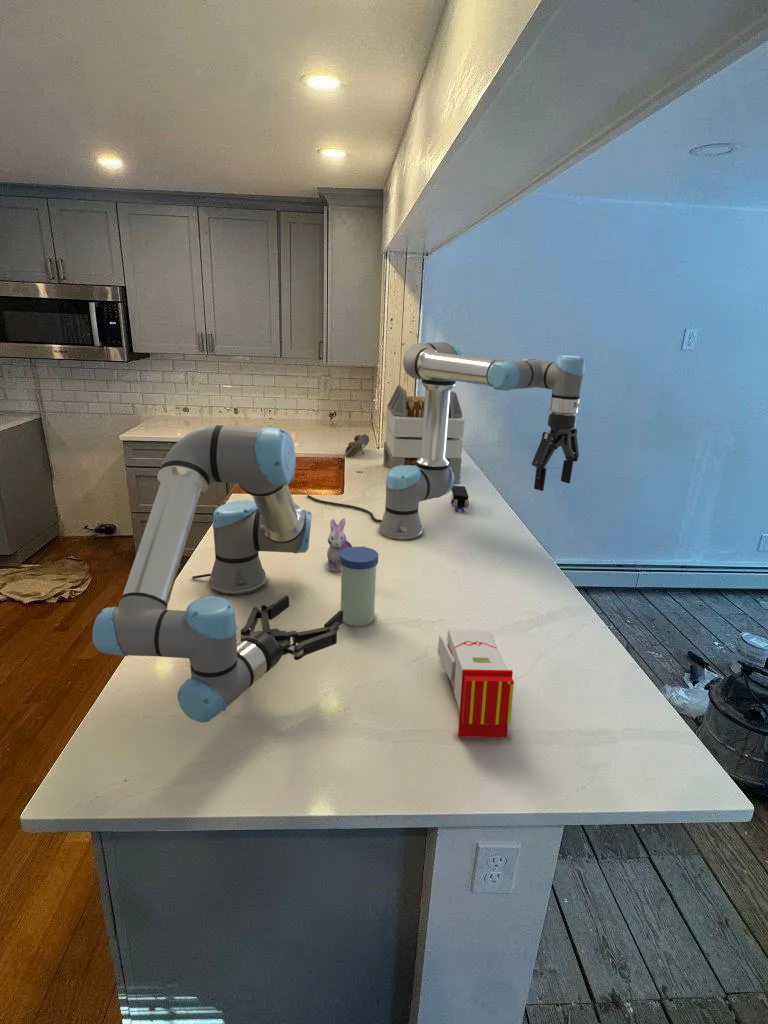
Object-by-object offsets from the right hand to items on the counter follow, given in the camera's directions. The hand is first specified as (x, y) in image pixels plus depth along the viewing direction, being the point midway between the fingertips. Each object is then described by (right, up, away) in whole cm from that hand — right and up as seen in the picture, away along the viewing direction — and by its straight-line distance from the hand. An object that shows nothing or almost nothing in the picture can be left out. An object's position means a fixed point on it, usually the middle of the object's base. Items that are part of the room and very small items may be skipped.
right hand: (552, 485), depth 166 cm
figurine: (-63, -24, +8) cm, 68 cm away
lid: (-55, -18, -26) cm, 64 cm away
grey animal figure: (-64, +24, +140) cm, 156 cm away
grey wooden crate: (-32, +11, +109) cm, 115 cm away
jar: (-56, -35, -20) cm, 69 cm away
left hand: (-64, -28, -43) cm, 83 cm away
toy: (-31, -45, -47) cm, 72 cm away
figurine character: (-19, -6, +63) cm, 66 cm away
